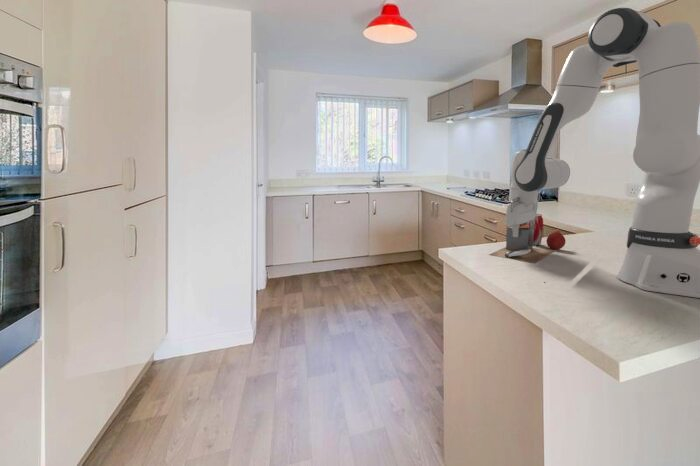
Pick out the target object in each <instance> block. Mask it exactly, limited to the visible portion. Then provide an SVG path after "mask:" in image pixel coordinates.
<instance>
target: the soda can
mask: <svg viewBox="0 0 700 466" xmlns="http://www.w3.org/2000/svg"><path fill="white" fill-rule="evenodd" d="M529 227H531V228H534V238H533V245H537V246H540V245H541V244H542V239H543V228H544V217H543V214H541V213H536V217H535V219H534V220H532V221H529Z"/></svg>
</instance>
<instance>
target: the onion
mask: <svg viewBox="0 0 700 466" xmlns="http://www.w3.org/2000/svg"><path fill="white" fill-rule="evenodd" d="M546 245H547V247H549V249H551V250H555V251H556V250H561V249H562V248H563V247H565V245H566V238H565V237H564V235H563V234H562V233H561V232H560V229H556V230H555V231H553V232H552V233H550V234H549V235H548V236H547V238H546Z"/></svg>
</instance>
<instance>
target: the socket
mask: <svg viewBox="0 0 700 466" xmlns="http://www.w3.org/2000/svg"><path fill="white" fill-rule="evenodd" d="M519 232H520V234H519V236H518V237H513V231H512V228H511V226H508V227H507V228H506V240H505V241H506V243H505V244H506V245H505V247H506V250H513V251H521V250H526V249H531V250H532V249H533V248H534V246H533V238H534V228H531V227H529V229H519Z"/></svg>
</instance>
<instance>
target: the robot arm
mask: <svg viewBox="0 0 700 466" xmlns="http://www.w3.org/2000/svg"><path fill="white" fill-rule="evenodd" d="M587 41H588V42H587V43H586V44H583V45H580V46H577V47H575V48H574V49H573V50H572V51H571V52H570V53H569V54H568V56H567V58H566V60H565V63H564V64H563V66H562V69H561V71H560V74H559V76H558V79H557V82H556V87H555V89H554V92H553V94H552V96H551V99H550V101H549V103H548V104H547V106H546V107H545V108H544V110H543V111H542V113H541V115H540V116H539V118H538V121H537V123H536V126H535V128H534V131H533V133H532V135H531V138H530V140H529V142H528V144H527V148H526V149H522V150H519V151H517V152H515V153H514V156H513V158H512V162H511V167H510V168H511V170H510V178H511V179H510V180H511V183H510V186H509V193H508V202H510V203H508V205H507V206H506V212H505V219H504V220H505V221H504V223H505V226H506V227H507V226H508V227H511V226H512V231H513V237H518V236H519V234H520V232H519V226H520V224H523V223H524V224H529V221H532V220H534V219H535V217H536V214H538V213H537V211H538V205H539V201H540V200H541V194H540V193H539V190H540V191H541V190H549V189H556V188H560V187H562V186H564V185H565V184H566V183H567V182H568V180H569V178H570V175H571V168H570V166H569V164H568V163H567V162H566V161H565V160H563V159H559V158H556V157H553V156H549V154H550V151H551V149H552V146H553V144H554V142H555V139H556V136H557V135H558V133H559V132H560V130H561V129H562V128H563V127H565V126H566V125H568V124H569V123H571V122H572V121H575V120H578V119H579V118H581V117H583V116H584V115H586V114H587V113H588V112H589V111H590V110H591V108H592V107H593V105H594V103H595V101H596V99H597V97H598V94H599V91H600V88H601V85H602V81H603V79H604V76H605V74H606V73H607V71H608V70H609V68H611V67H614V68H618V67H622V66H626V65H629V64H633V63H637V67H638V91H639V95H638V96H639V115H638V124H637V129H636V135H635V136H636V137H635V138H636V139H635V147H634V149H633V153H632V158H633V161H634V163H635V165H636V166H637V167H638V168H639V169H640V170H641V171H642V172H644V176H643V178H642V182H641V185H640V188H639V190H638V193H637V195H636V196H635V201H634V208H633V215H632V221H631V226H630V227H629V228H628V229H629V230H628V231H627V236H626V237H627V238H626V247H627V249H626V253H625V256H624V259H623V263H622V265H621V267H620V268H619V271H618V273H617V275H616V278H617V279H619V280H621V281H622V282H625V283H627V284H630V285H632V286H636V287H637V288H639V289H641V290H644V291H648V292H649V291H650V292H653V293H654V292H655V293H662V294H668V295H676V296H683V297H691V298H697V299H698V298H699V299H700V249H699V248H697V247H698V246H699V245H700V236H698V235H697V234H695V233H693V232H691V231H690V224H691V219H692V213H693V207H694V202H695V198H696V194H697V192H698V189H699V186H700V135H699V133H698V124H699V123H698V122H699V115H700V47H699V42H698V37H697V33H696V31H695V28H694V27H693V26H692V25H691V24H690V23H688V22H683V21H680V22H679V21H678V22H677V21H676V22H670V23H667V24H665V25H661V24H660V23H659V21H657V20H656V19H655V18H654V19H653V18H651V17H650V16H649V15H647V14H646V13H645V12H641V11H638V10H636V9H632V8H630V7H616V8H612V9H609V10H607V11H605V12H604V13H602V14H600V16H599V17H597V18H596V19H595V21H594V22H593V24H592V25H591V26H590V29H589V31H588V35H587Z"/></svg>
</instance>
